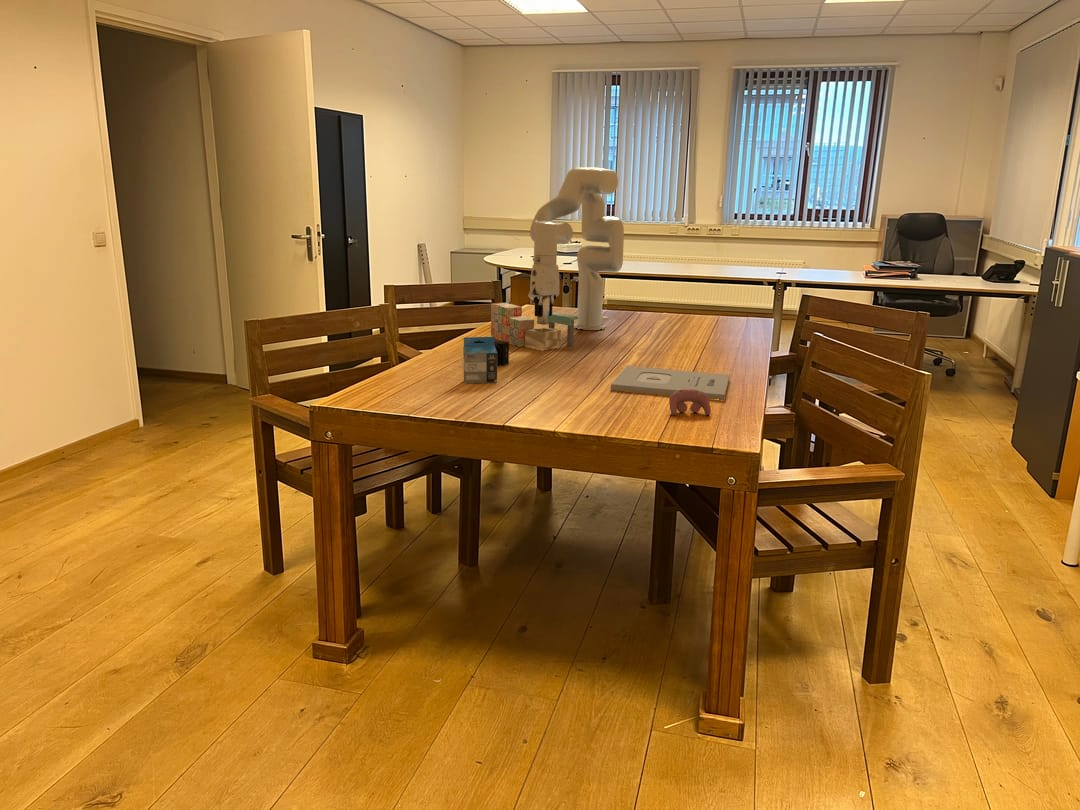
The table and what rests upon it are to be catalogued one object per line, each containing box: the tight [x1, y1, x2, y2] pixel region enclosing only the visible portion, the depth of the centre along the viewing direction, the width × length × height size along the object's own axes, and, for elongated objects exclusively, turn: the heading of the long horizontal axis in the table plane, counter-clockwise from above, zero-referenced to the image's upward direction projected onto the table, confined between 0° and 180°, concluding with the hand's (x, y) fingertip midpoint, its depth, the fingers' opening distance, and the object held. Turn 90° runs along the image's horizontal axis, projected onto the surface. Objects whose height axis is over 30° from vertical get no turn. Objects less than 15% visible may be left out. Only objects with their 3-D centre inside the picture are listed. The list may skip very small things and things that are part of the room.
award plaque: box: [610, 365, 731, 401], centre depth 217 cm, size 25×30×2 cm
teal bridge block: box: [548, 311, 578, 346], centre depth 271 cm, size 4×12×10 cm, turn 46°
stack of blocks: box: [490, 302, 535, 348], centre depth 273 cm, size 21×6×12 cm, turn 29°
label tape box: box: [462, 336, 498, 384], centre depth 214 cm, size 9×4×12 cm, turn 105°
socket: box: [525, 326, 562, 352], centre depth 264 cm, size 9×8×6 cm
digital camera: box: [474, 339, 510, 367], centre depth 237 cm, size 10×5×7 cm, turn 67°
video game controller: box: [668, 389, 712, 416], centre depth 190 cm, size 10×5×7 cm, turn 93°
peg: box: [536, 294, 550, 326], centre depth 261 cm, size 4×4×10 cm
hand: (543, 315), depth 261 cm, fingers closed on peg, 4 cm apart
